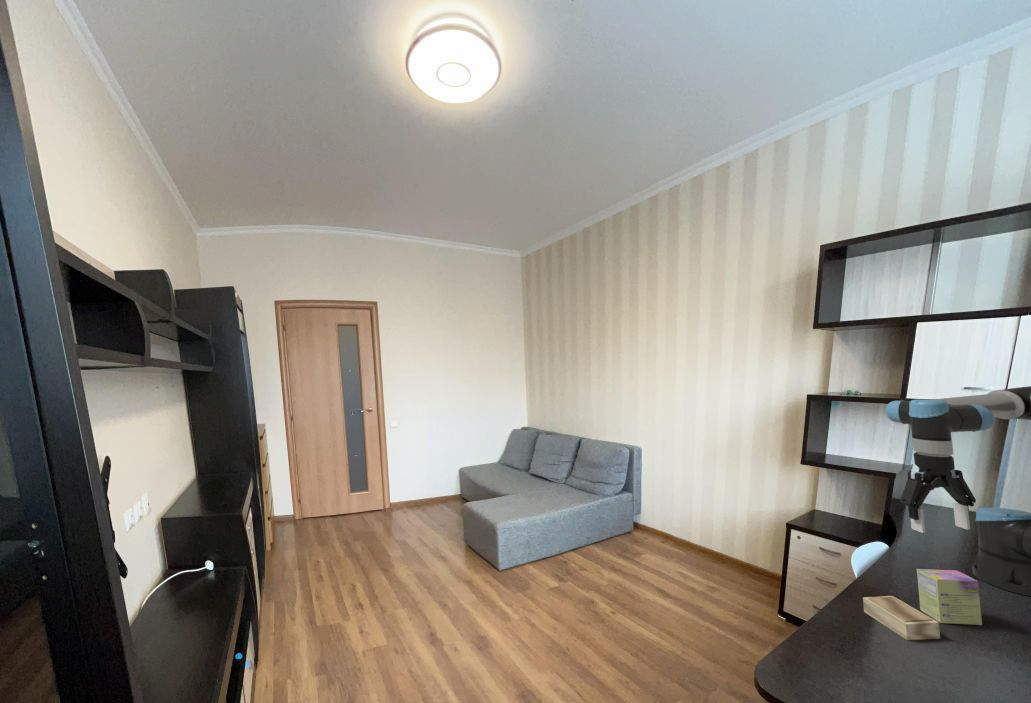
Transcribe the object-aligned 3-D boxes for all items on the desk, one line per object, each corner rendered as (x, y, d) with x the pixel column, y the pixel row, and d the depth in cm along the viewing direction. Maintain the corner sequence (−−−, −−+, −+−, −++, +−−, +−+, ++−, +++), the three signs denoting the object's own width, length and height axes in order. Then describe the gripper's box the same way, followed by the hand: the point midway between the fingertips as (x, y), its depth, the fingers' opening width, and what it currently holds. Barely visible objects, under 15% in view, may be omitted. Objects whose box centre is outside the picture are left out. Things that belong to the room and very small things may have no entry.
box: (959, 611, 102) (955, 569, 103) (983, 625, 97) (979, 580, 97) (919, 610, 103) (915, 568, 104) (940, 623, 98) (936, 579, 98)
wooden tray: (893, 610, 103) (892, 594, 104) (940, 638, 92) (938, 621, 93) (863, 611, 103) (862, 596, 103) (907, 640, 92) (905, 623, 92)
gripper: (956, 448, 107) (963, 520, 106) (878, 453, 105) (885, 526, 104) (990, 454, 99) (999, 532, 98) (907, 459, 98) (915, 538, 97)
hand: (940, 529), depth 101 cm, fingers open, 13 cm apart
